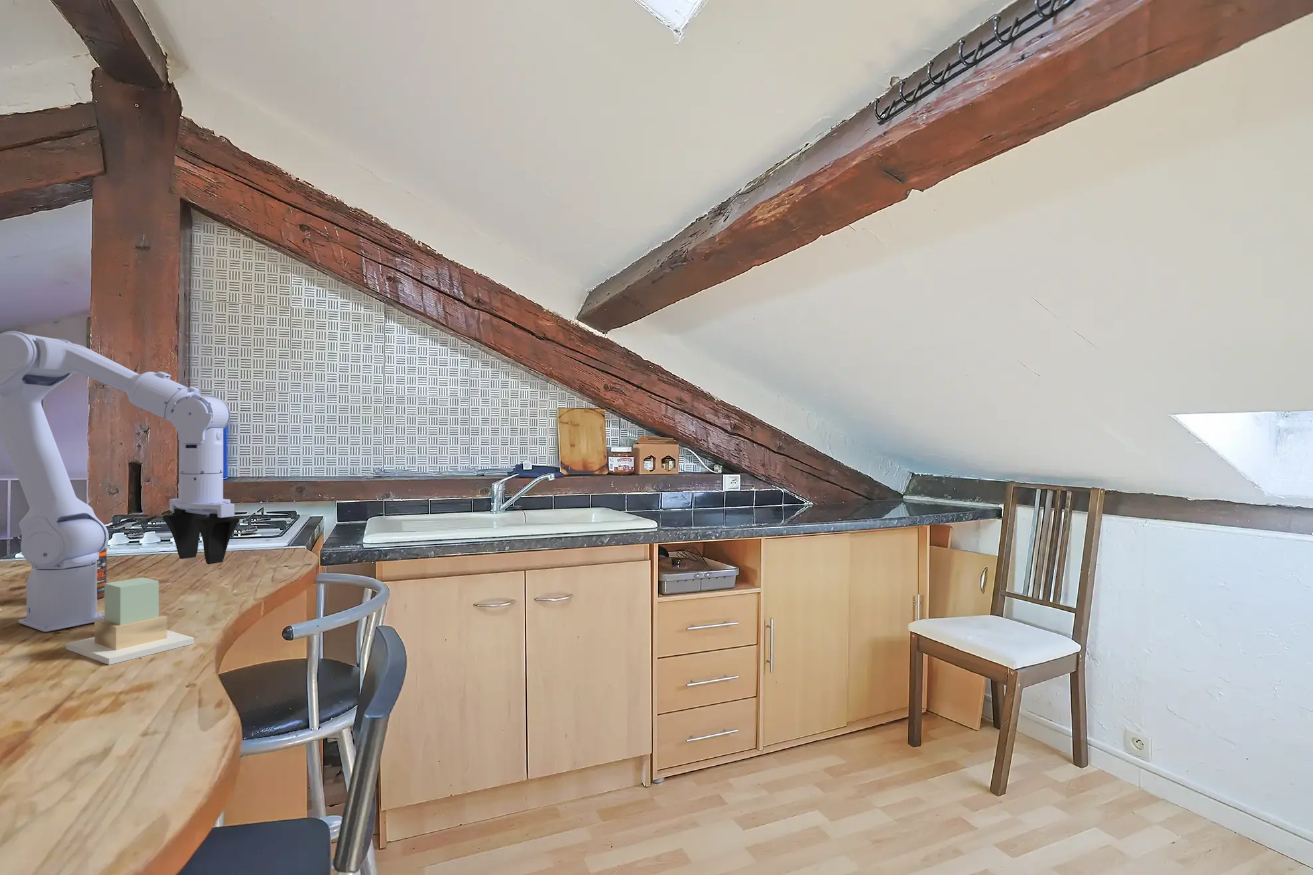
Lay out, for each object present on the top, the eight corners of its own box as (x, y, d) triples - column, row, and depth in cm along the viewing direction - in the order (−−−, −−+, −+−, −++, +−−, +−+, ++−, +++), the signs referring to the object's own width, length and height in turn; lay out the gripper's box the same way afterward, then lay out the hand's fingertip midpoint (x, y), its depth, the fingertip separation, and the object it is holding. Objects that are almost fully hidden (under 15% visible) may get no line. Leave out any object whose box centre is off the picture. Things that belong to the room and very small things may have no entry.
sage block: (104, 620, 93) (104, 583, 93) (142, 612, 97) (142, 577, 96) (120, 625, 90) (120, 587, 90) (158, 617, 94) (158, 581, 94)
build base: (66, 649, 92) (66, 621, 92) (150, 630, 101) (150, 604, 101) (109, 665, 86) (109, 635, 86) (194, 643, 95) (194, 616, 95)
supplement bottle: (80, 604, 115) (80, 537, 115) (52, 602, 116) (52, 535, 116) (115, 595, 121) (115, 532, 121) (88, 594, 122) (88, 530, 122)
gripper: (254, 473, 106) (254, 561, 106) (203, 470, 113) (202, 552, 113) (206, 476, 99) (205, 569, 100) (155, 472, 107) (154, 558, 107)
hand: (201, 560), depth 106 cm, fingers open, 7 cm apart
